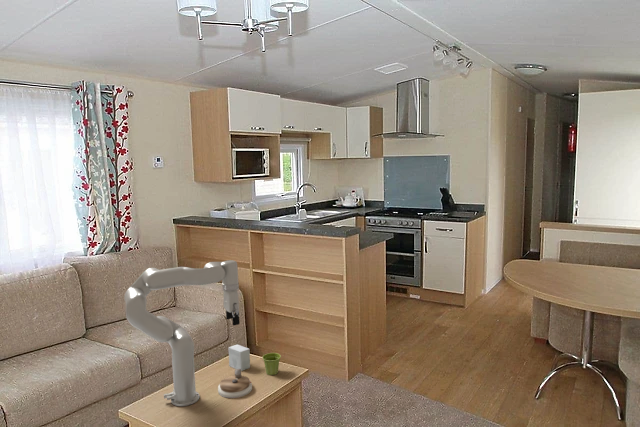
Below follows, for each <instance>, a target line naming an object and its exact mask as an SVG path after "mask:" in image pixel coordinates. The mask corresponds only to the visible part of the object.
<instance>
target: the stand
mask: <svg viewBox="0 0 640 427" xmlns="http://www.w3.org/2000/svg"><path fill="white" fill-rule="evenodd" d="M252 390H253V383H252V381H251V380H250V385H249V387H248V388H246V389H244V390H242V391H239V392H225V391H223V390H221V388H220V383H219V384H218V386H217V392H218V395H220V396H221V397H223V398H226V399H235V398H237V399H238V398H242V397H244V396H247V395H249V394H250V392H252Z"/></svg>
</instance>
